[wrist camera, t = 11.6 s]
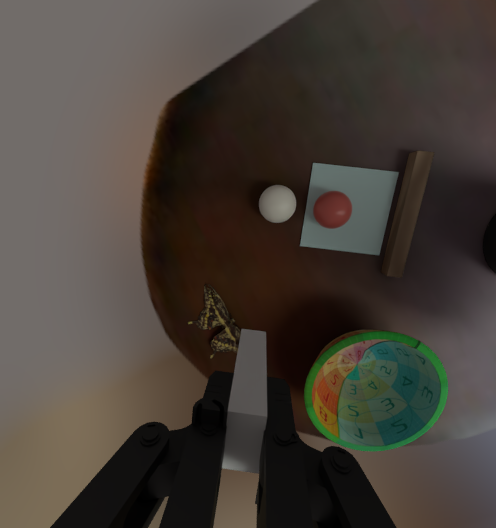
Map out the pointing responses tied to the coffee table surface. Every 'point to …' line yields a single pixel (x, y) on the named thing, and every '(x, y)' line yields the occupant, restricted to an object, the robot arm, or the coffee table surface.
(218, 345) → the butterfly
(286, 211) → the white ball
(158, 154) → the coffee table surface
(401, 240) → the strip
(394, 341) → the bowl
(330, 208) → the red ball
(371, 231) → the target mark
